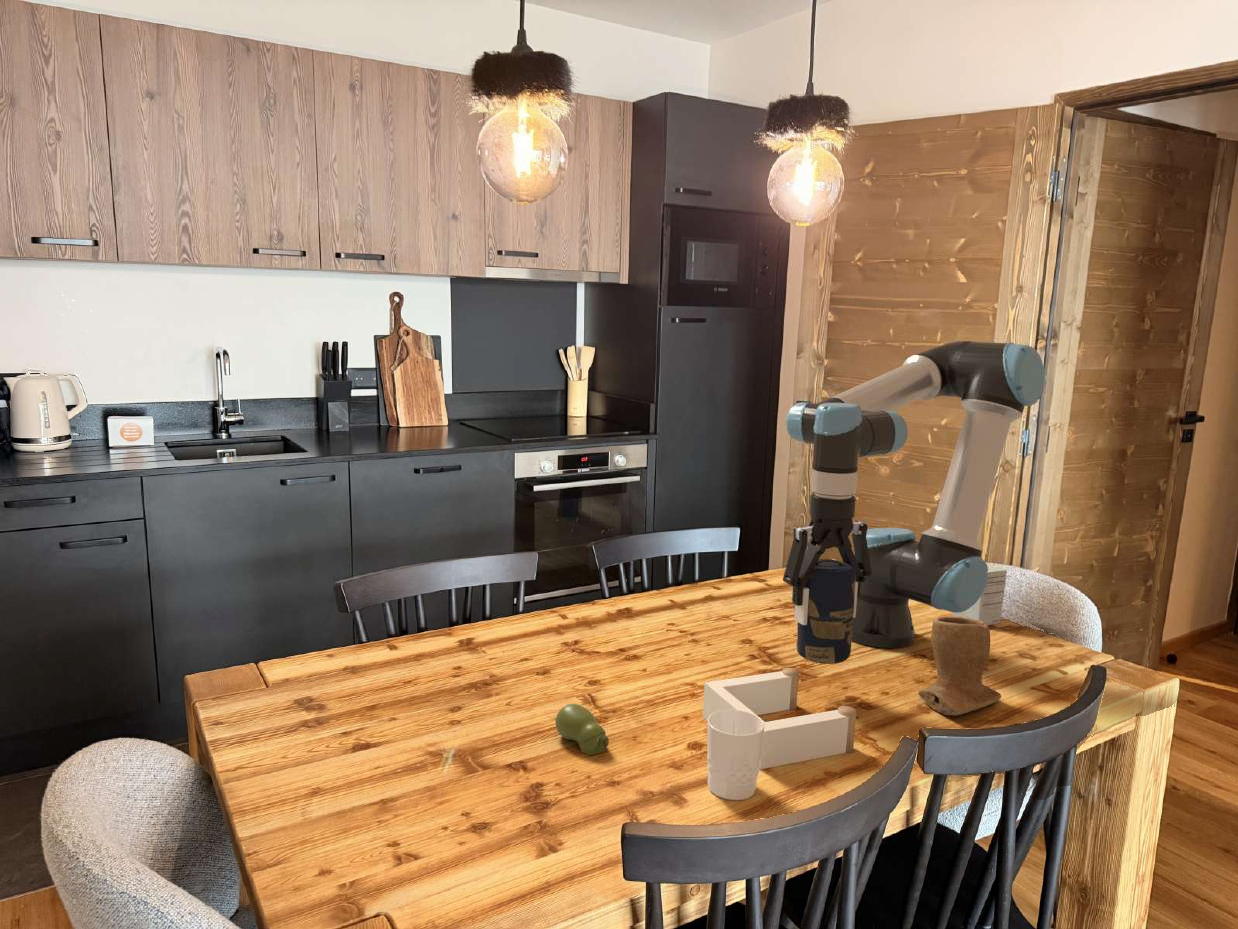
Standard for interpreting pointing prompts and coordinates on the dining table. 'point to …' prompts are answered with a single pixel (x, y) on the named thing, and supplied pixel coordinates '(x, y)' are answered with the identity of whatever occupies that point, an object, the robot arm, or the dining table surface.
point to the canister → (828, 613)
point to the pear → (581, 729)
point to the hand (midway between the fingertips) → (825, 618)
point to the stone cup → (959, 666)
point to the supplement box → (989, 598)
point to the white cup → (734, 753)
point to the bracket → (786, 735)
